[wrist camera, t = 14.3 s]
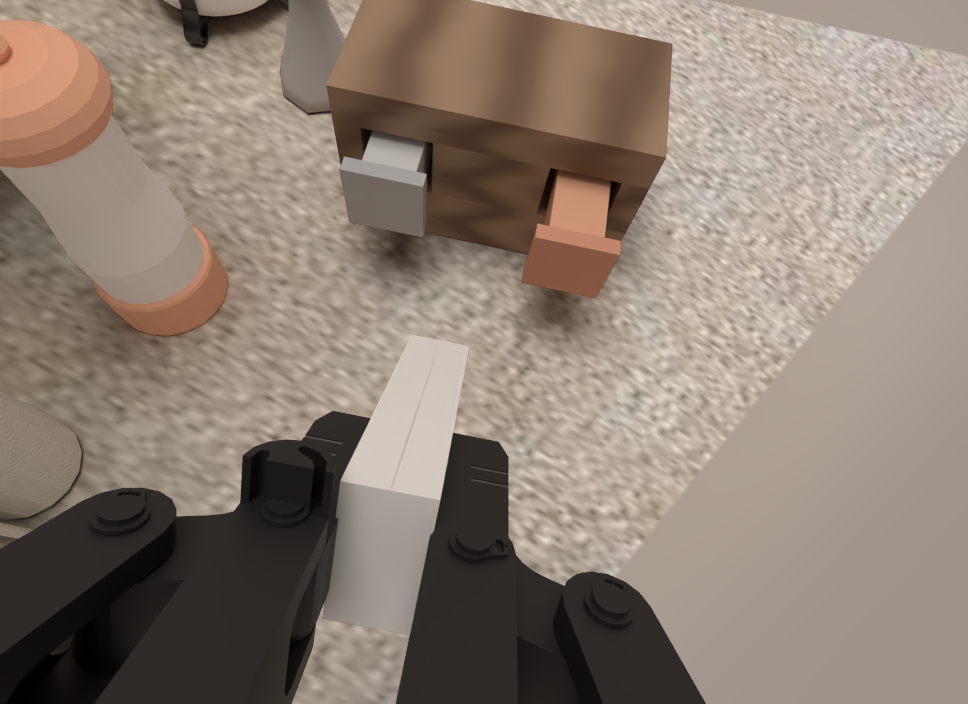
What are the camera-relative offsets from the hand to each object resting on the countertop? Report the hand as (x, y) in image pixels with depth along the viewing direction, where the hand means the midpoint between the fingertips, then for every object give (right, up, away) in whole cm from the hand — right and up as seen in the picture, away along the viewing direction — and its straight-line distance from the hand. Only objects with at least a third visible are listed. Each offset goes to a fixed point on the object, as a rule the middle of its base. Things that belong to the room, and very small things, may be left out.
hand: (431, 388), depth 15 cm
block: (+2, +14, +31) cm, 34 cm away
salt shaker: (-20, +5, +25) cm, 32 cm away
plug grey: (-4, +15, +26) cm, 30 cm away
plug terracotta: (+8, +11, +25) cm, 29 cm away
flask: (-12, +24, +34) cm, 44 cm away
